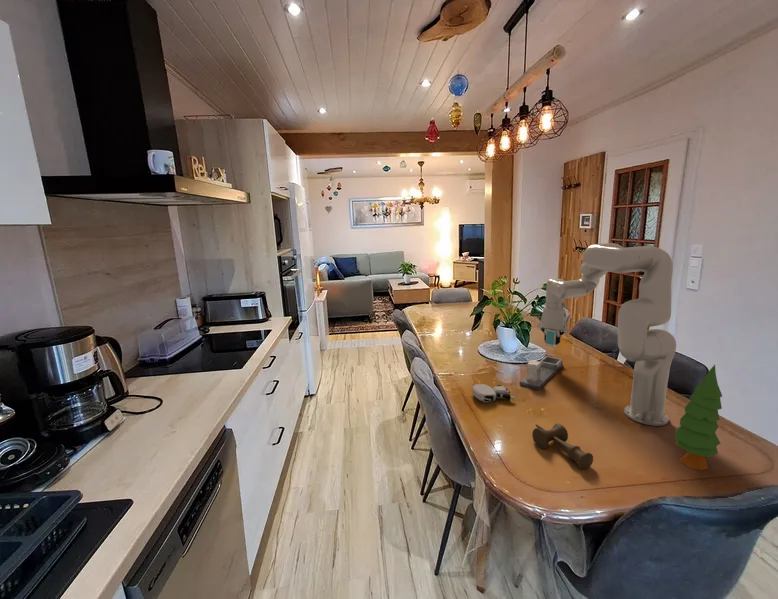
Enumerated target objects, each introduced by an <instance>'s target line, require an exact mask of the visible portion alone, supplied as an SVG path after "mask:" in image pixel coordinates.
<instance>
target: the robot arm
mask: <svg viewBox="0 0 778 599" xmlns="http://www.w3.org/2000/svg"><path fill="white" fill-rule="evenodd" d="M582 262H583V263H582V264H581V265H580V268H579V271H580V273H581V275H582V277H581V278H579V279H573V280H564V279H562V278H550V279H547V281H546V288H545V289H546V292H545V305H544V307H543V309H542V313H541V319H540V322H539V324H537V328H538V329H539V330H540V331H541V332H542V333H543V335H544V336H543V337H544V339H543V340H544V342H545V344H546V330H547V329H552V330H556V332H557V336H556V343H555V344H556V345H557V344H558V345H559V344H560V343H561V336H563V335H564V334H568V332H570V330H569V328H568V326H567V313H566V312H567V311H566V308H567V307H568V304H566V303H565V299H571V298H581V297H584V296H586V295H588V294H590V293H591V292H592V291H594V290H595V289H596V288H597V287H598V285H599V282H600V279H601V278H602V277H604V276H605V275H606V274H608V272H609V273H610V272H611V273H615V274H625V273H626V274H627V273H635V272H637V273H638V272H643V273H644V274H643V276H642V277H641V279H640V281H639V284H638V298H636V299H635V298H634V299H630V300H628V301H625V302H624V303H622V304H621V306H620V308H619V309H618V314H617V346H618V350H619V353H620V354H621V356H622V357H623V358H624V359H626V360H627V361H630V362H634V363H635V364H634V369H633V376H632V385H631V386H632V388H631V395H630V404H628V405H627V406H625V407H624V411H623V412H624V415H626V416H627V418H629V419H630V420H632V421H635V422H637V423H640V424H643V425H648V426H655V427H661V426H665V425H667V424H669V421H670V419H669V416H668V415H667V414H666V413H665V406H666V398H667V391H668V385H669V384H668V383H669V379H670V378H669V377H670V370H671V364H672V361H673V359H674V356H675V354H676V350H677V341H676V339H675V337H674V336H673V335H672V333H670V331H667V330H664V329H659V328H652V329H648V328H650V327H659V326H662V325H666V324H668V322H669V321H670V320H671V316H672V279H673V278H672V277H673V271H674V270H673V269H674V268H673V267H674V266H673V264H674V263H673V260H672V257H671V256H670V254H669V253H668V252H667V251H665V250H664V249H662V248H660V247H657V246H653V245H652V246H649V245H648V246H646V245H644V246H643V245H641V246H630V247H623V246H622V245H620V244H617V243H614V242H609V243H608V242H607V243H596V244H595V243H594V244H591V245H589V246H588V247H586V249H585V250H584V252H583V253H582ZM558 345H557V346H558Z"/></svg>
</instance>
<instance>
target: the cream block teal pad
mask: <svg viewBox="0 0 778 599" xmlns="http://www.w3.org/2000/svg"><path fill="white" fill-rule="evenodd" d="M556 336H557V332H556V330H552V329H547V330H546V343H545V347H550V348H556V347H557V346H559V344H557V345H556V344H555V343H556Z"/></svg>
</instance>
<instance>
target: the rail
mask: <svg viewBox="0 0 778 599" xmlns="http://www.w3.org/2000/svg"><path fill="white" fill-rule="evenodd" d="M563 366H564V362H563V359H562V358H559V357H554V356H548V355H545V356H544V357H543V358H542V359H541V360H535V359H531V360H530V361H528V362H527V367H526V368H527V369H526V376H524V377H523V378H522V379H521V380H520V381H519V386H522V385H523V387H526V386H527V387H526V388H530V389H533V388H534V390H537V391H539V390H541V389H542V388H543V386H544V385H545V384H546V383H547V382H549V380H550V379H552V377H553V376H554V375H555V374H556V373H557V372H558V371H560V369H562V368H563Z"/></svg>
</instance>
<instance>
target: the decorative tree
mask: <svg viewBox="0 0 778 599" xmlns="http://www.w3.org/2000/svg"><path fill="white" fill-rule="evenodd" d="M716 372H717V371H716V364H713V366H711V368H710V369H709V370H708V372H707V373H706V375H705V376H704V378H703V379H702V380H701V381H700V383H699V384H697V385H696V387H695V388H694V391H693V393H692V394H691V395H690V396H689V399H690V400H689V402H688V403H687V404H686V406H685V407H684V412H685V413H684V414H683V415H682V416H681V418H680V420H679V427H678V428H677V429H676V430H675V435H674V439H675V441H676V442H675V445H676V446H678V447H679V448H681V449H683V450H684V451H686V452H687V453H685V454H684V455H683V456H682V457H681V458H680V459H679V462H681V463H682V464H684V465H686V466H687V467H689V468H690V469H693V470H699V471H703V470H707V469H709V467H708V463H707V460H706V459H707V458H711V457H713V456H715V455H717V454H719V451H718V448H717V446H719V445H721V441H720V440H719V438H718V435H717V433H716V431H717V430H718V429H719V425H718V421H720V415H719V410H722V408H723V407H722V402H721V401H722V400H721V398H722V397H723V394H722V392H721V389H720V386H719V383H718V379H717V373H716ZM706 457H707V458H706Z"/></svg>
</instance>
